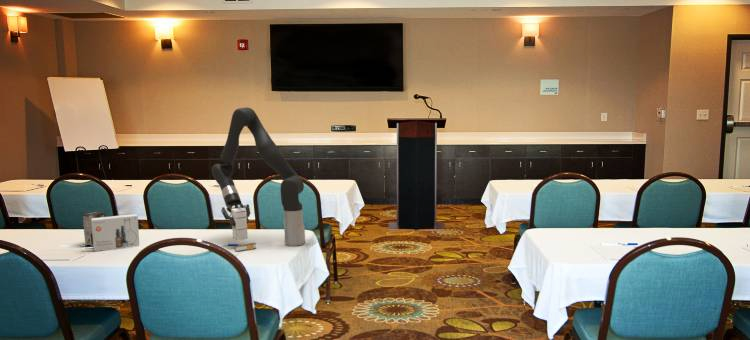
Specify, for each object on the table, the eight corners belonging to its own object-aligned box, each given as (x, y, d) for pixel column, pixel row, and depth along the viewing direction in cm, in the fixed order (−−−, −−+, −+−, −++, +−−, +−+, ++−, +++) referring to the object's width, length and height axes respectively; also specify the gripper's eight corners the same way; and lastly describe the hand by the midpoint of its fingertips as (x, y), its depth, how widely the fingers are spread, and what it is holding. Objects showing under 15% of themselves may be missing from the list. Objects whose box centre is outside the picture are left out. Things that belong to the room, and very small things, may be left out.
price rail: (254, 247, 291) (254, 242, 291) (256, 248, 289) (256, 243, 289) (234, 251, 286) (234, 246, 285) (236, 252, 284) (236, 247, 284)
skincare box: (94, 252, 291) (91, 220, 289) (93, 249, 296) (90, 218, 294) (140, 246, 301) (137, 215, 299) (138, 243, 306) (136, 213, 304)
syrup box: (248, 238, 292) (246, 209, 290) (236, 240, 288) (235, 210, 286) (243, 236, 296) (242, 207, 294) (232, 238, 293) (230, 208, 291)
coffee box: (101, 241, 313) (99, 211, 311) (108, 242, 310) (105, 212, 308) (84, 245, 306) (81, 214, 304) (91, 246, 302) (88, 215, 300)
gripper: (218, 193, 292) (228, 221, 283) (246, 190, 300) (256, 217, 291) (215, 202, 297) (224, 230, 289) (243, 199, 305) (253, 226, 296)
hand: (240, 224), depth 290 cm, fingers closed on syrup box, 6 cm apart
